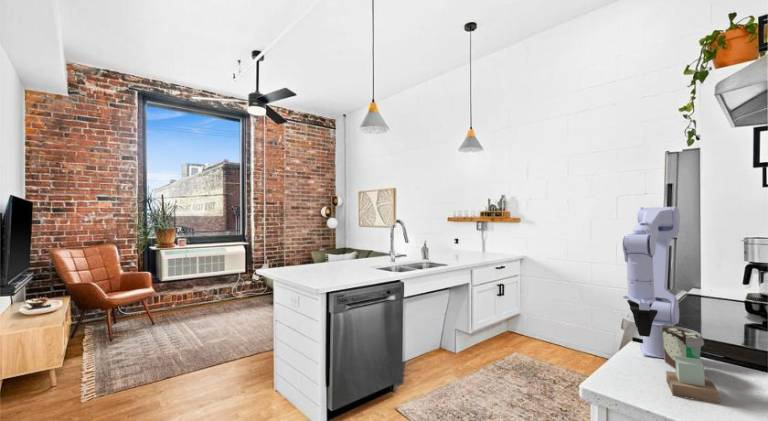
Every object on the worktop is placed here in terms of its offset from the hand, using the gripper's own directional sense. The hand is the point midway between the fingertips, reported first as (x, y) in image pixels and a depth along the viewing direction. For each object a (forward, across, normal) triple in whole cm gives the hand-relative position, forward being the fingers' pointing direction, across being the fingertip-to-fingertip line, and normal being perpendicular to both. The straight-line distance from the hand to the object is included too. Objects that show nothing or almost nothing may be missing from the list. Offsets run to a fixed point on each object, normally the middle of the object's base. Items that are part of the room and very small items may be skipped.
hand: (642, 331), depth 95 cm
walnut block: (+11, +8, +8) cm, 16 cm away
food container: (+11, -6, +10) cm, 16 cm away
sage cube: (+8, +8, +8) cm, 14 cm away
